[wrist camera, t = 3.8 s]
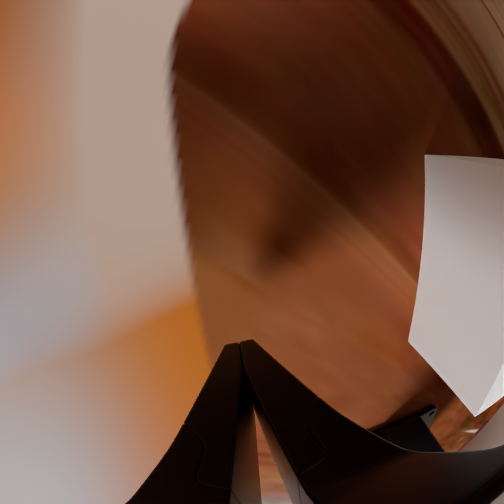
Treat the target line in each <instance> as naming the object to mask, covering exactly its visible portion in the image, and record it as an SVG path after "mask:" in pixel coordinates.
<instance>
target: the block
mask: <svg viewBox="0 0 504 504" xmlns="http://www.w3.org/2000/svg"><path fill="white" fill-rule="evenodd" d="M408 342H409V343H410V344H411V345H412V346H413V347H414V348H415V349H416V351H417V352H418V353H419V354H420V355H421V356H422V357H423V358H424V359H425V360H426V361H427V363H428V364H429V365H430V366H431V367H432V368H433V369H434V370H435V371H436V373H437V374H438V375H439V376H440V377H441V378H442V379H443V380H444V382H445V383H446V384H447V385H448V386H449V387H450V388H451V390H452V391H453V392H454V393H455V394H456V395H457V396H458V398H459V399H460V400H461V401H462V402H463V403H464V405H465V406H466V407H467V408H468V409H469V411H470V412H471V413H472V414H473V415H474V416H475V417H476V416H477V415H478V414H480V413H481V412H483V411H484V410H486V409H487V408H488V407H490V406H491V405H492V404H494V403H495V402H496V401H498V400H499V399H500V398H502V397H503V396H504V159H495V158H483V157H469V156H450V155H425V213H424V232H423V245H422V256H421V265H420V274H419V282H418V289H417V295H416V302H415V308H414V313H413V319H412V324H411V329H410V334H409V339H408Z"/></svg>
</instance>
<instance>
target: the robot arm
mask: <svg viewBox="0 0 504 504" xmlns="http://www.w3.org/2000/svg"><path fill="white" fill-rule="evenodd" d="M253 405H254V407H253ZM254 409H255V412H256V415H257V418H258V420H259V423H260V426H261V428H262V431H263V433H264V436H265V438H266V441H267V443H268V446H269V448H270V451H271V453H272V456H273V458H274V461H275V463H276V465H277V468H278V470H279V473H280V475H281V477H282V480H283V482H284V484H285V487H286V489H287V491H288V493H289V496H290V498H291V500H292V502H293V504H504V445H502V446H499V447H496V448H493V449H487V450H477V451H463V452H445V451H444V450H443V448H442V447H441V445H440V444H439V442H438V441H437V439H436V438H435V437H434V435H433V434H432V432H431V431H430V429H429V427H430V425H431V423H432V421H433V418H434V416H435V414H436V412H437V408H436V407H435V406H434V405H432V406H429V407H428V408H426V409H424V410H422V411H420V412H418V413H416V414H414V415H412V416H410V417H408V418H406V419H403V420H401V421H399V422H397V423H395V424H393V425H390V426H388V427H386V428H383V429H381V430H379V431H376V432H374V433H372V432H370V431H368V430H367V429H365V428H363V427H361V426H359V425H358V424H356V423H354V422H353V421H351V420H350V419H348V418H346V417H345V416H343V415H342V414H340V413H339V412H338V411H336V410H335V409H333V408H332V407H331V406H329V405H328V404H327V403H326V402H325V401H323V400H322V399H321V398H319V397H318V396H317V395H316V394H315V393H314V392H312V391H311V390H310V389H309V388H308V387H306V386H305V385H304V384H303V383H302V382H301V381H299V380H298V379H297V378H296V377H295V376H294V375H292V374H291V373H290V372H289V371H288V370H287V369H286V368H284V367H283V366H282V365H281V364H280V363H279V362H278V361H276V360H275V359H274V358H273V357H272V356H271V355H270V354H269V353H267V352H266V351H265V350H264V349H263V348H262V347H261V346H260V345H259V344H258V343H256V342H255V341H254V340H252V339H251V340H246V341H241V342H240V344H239V343H231V344H227V345H225V346H224V348H223V350H222V352H221V354H220V355H219V357H218V359H217V361H216V363H215V365H214V367H213V369H212V371H211V373H210V375H209V376H208V378H207V380H206V382H205V384H204V386H203V388H202V390H201V392H200V393H199V396H198V397H197V399H196V401H195V403H194V405H193V407H192V408H191V410H190V412H189V414H188V416H187V418H186V420H185V422H184V424H183V425H182V427H181V429H180V431H179V432H178V434H177V436H176V438H175V439H174V441H173V443H172V444H171V446H170V448H169V449H168V451H167V452H166V453H165V455H164V456H163V458H162V459H161V460H160V462H159V463H158V465H157V466H156V467H155V469H154V470H153V471H152V473H151V474H150V475H149V477H148V478H147V479H146V480H145V482H144V483H143V484H142V485H141V487H140V488H139V489H138V491H137V492H136V493H135V494H134V495H133V497H132V498H131V499H130V500H129V501H128V502H127V503H126V504H262V502H261V490H260V478H259V465H258V452H257V439H256V426H255V414H254Z"/></svg>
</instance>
